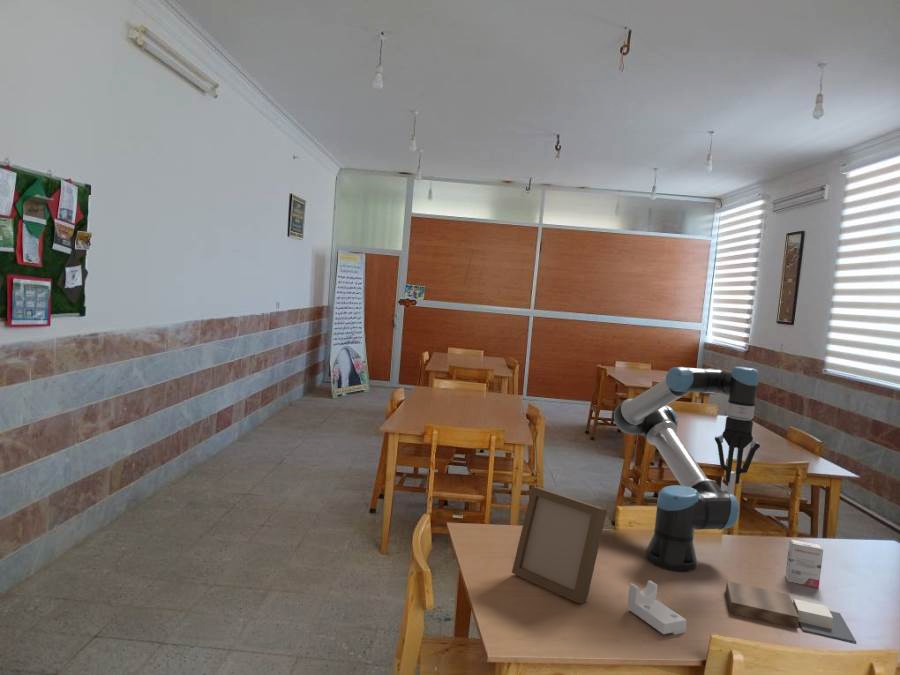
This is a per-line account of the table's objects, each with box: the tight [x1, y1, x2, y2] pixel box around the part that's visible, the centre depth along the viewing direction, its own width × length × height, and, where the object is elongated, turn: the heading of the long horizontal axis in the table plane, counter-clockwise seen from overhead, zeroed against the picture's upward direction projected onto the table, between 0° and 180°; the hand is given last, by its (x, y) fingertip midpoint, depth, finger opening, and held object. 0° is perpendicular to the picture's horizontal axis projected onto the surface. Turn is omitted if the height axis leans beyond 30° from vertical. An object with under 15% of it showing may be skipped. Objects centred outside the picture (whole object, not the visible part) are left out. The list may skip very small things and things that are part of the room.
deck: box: [725, 580, 799, 629], centre depth 173 cm, size 16×14×3 cm
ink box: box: [784, 539, 824, 589], centre depth 193 cm, size 9×5×12 cm, turn 71°
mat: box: [798, 610, 857, 644], centre depth 168 cm, size 12×16×1 cm
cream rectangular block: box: [792, 598, 833, 629], centre depth 169 cm, size 8×7×3 cm
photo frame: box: [511, 486, 608, 604], centre depth 177 cm, size 15×22×25 cm
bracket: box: [626, 580, 687, 635], centre depth 160 cm, size 13×7×8 cm, turn 25°
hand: (730, 493), depth 195 cm, fingers closed
